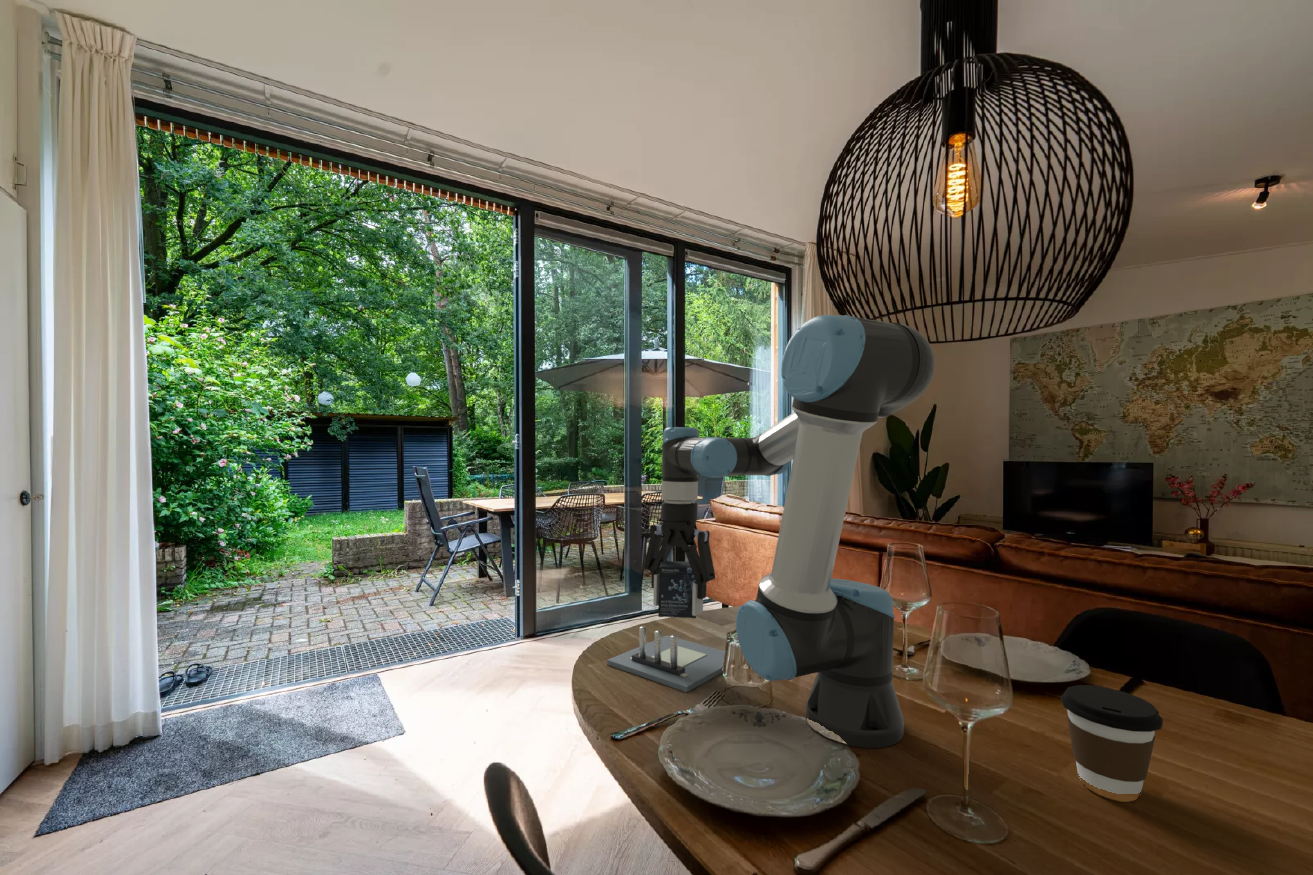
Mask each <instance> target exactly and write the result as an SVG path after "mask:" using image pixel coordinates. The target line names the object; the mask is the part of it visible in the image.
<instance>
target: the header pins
mask: <svg viewBox="0 0 1313 875" xmlns="http://www.w3.org/2000/svg"><path fill="white" fill-rule="evenodd" d="M638 628H639V631H638V633H639V635H638V637H639V640H638V647H639V653H637V654H634V655H632V661H635V662H638V663H641V664H644V665H647V666H650V667H653V668H656V669H659V670H662V671H665V672H668V673H671V674H674V675H677V676H680V675H681V674H683V673H685V668H684V667H681V666H678V665H677V656H678V638H679V635H678V634H671V635H670V636H671V644H670V663H668V662H665V661H662V660H661V646H662V637H663V633H662V630H661V629H657V630H656V629H655V630H654V640H655V644H654V658H653V657H650V656H646V644H647V626H645V625H640V626H639V627H638Z"/></svg>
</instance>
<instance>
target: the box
mask: <svg viewBox="0 0 1313 875" xmlns="http://www.w3.org/2000/svg"><path fill="white" fill-rule="evenodd" d="M694 582H696V579H695V577H694V574H693V571H692V569H691V566H690V564H689V561H682V560H681V561H678V560H676V561H675V560H673V561H672V560H671V561H670V560H666V561H661V562H660V569H659V605H658V606H657V607H658V609H657V610H658V613H657V615H658V618H684V619H685V618H686V619H696V618H697V615H696V616H693V615H692V595H693V583H694Z"/></svg>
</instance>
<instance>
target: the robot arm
mask: <svg viewBox="0 0 1313 875" xmlns="http://www.w3.org/2000/svg"><path fill="white" fill-rule="evenodd" d="M780 366H781V369H780V371H781V378H782V379H784V381H783V383H782V385H783V386H784V389H785V390H786V391H787V394H789V395H790V396H791V397H792V398H793V400H792V403H791V404H792V405H791V409H792V411H793V412H792V413H791V414H789V415H788V416H786V417H785V418H783V419H781V420H780V421H778V422H777V423H775V424H774V425H772V426H771V427H769V428H768V429H766V430H764V431H763V432H761V433H759V434H758V435H756V436H754V437H719V436H704V437H702V436H701V437H700V434H699V433H700V432H699V429H698V428H696V427H689V426H688V427H684V426H683V427H682V426H680V427H679V426H675V427H673V426H668V427H666V428H664V430H663V433H662V443H661V448H662V449H661V450H662V451H661V452H662V453H661V455H662V457H661V476H662V477H661V496H660V497H661V499H662V500H663V501H662V503H661V508H660V510H661V511H660V512H661V514H660V516H661V517H660V518H661V519H662V523H661V524H660V523H656V524H651V525H650V527H649V531H650V532H649V533H650V536H649V541H648V546H647V550H646V555H645V559H644V564H643V569H645V570H648V571H649V572H650V573H651V584H650V585H651V588H652V589H653V606H655V607H659V606H658V605H659V569H660V562H661V561H668V558H669V556H670V554H671V552H672V549H673V548H674V547H675V546H676V547H679V548H681V549H682V551H683V553H685V556H686V558H687V562H689V564H690V566H691V569H692V571H693V574H694V577H695V579H696V582H694V583H693V595H692V615H693V616H696V617H697V616H698V615H702V614H703V612H704V599H706V598H707V583H708V582H711V581H713V580H715V579H716V574H715V567H714V563H713V557H712V553H711V552H712V551H711V546H710V535H711V534H710V531H709V530H700V529H699V528H698V526H697V521H698V511H699V510H698V508H699V506H698V504H697V502H696V501H697V500H698V499H699V498H698V496H699V495H698V494H699V492H698V491H699V476H702V477H705V478H708V479H712V478H715V479H717V478H718V479H719V478H723V477H728V476H729V477H731V476H732V477H733V476H734V477H735V476H736V477H738V476H765V477H766V476H767V477H769V476H774V475H781V474H783V473H785V472H786V471H787V470H788V468H789V466H791V469H790V474H789V479H788V485H787V490H786V494H785V501H784V505H783V511H782V514H781V515H782V516H781V522H780V525H779V526H780V527H779V531H778V536H777V542H776V548H775V554H774V558H773V563H772V569H771V572H769V573H767V574H766V575H764V576H763V577H761V579H760V580H759V583H758V588H757V594H756V598H755V600H747V601H746V602H744V604H742V605H740V607H739V608H738V610H737V612H736V613H737V614H736V618H735V630H736V636H737V641H738V645H739V647H740V650H741V654H742V656H743V657H744V659H745V661H746V662H747V664H748V666H749V667H750V668H751V669H752V670H753V672H755V674H757V676H759V677H760V678H762V679H763V680H766V681H770V682H775V681H783V680H784V681H792V680H794V679H795V678H799V677H803V676H807V675H813V674H816V676H815V679H814V682H813V684H812V688H811V690H810V693H809V696H808V698H807V702H806V705H805V706H806V708H805V710H806V713H805V717H807V718H808V719H809V720H812V721H814V722H817V723H819V724H820V725H821V726H824V727H825V728H826V729H828V730H829V731H833V732H834V733H835V734H837V735H839V736H840V737H841V738H842V739H843V740H844V741H845V742H846V743H847V744H848V745H847V746H850V747H856V748H866V749H867V748H868V749H877V748H878V749H879V748H885V747H891V746H893V745H896V744H897V743H899V742H900V741H901V740H902V739H903V738H904V734H905V731H904V730H905V720H904V719H905V718H904V715H903V712H902V709H901V705H900V703H899V699H898V696H897V693H896V690H895V687H894V683H893V677H894V676H893V668H894V667H893V666H894V637H895V636H894V635H895V634H894V632H895V631H894V630H895V618H896V617H895V614H894V612H895V611H894V600H893V597H892V595H891V593H890V592H889V591H887V590H886V589H884V588H883V587H879V586H875V585H874V584H873V585H872V584H869V583H865V582H860V581H856V580H855V581H854V580H849V579H843V578H842V579H841V578H832V577H833V574H834V572H833V571H834V567H835V564H836V557H837V553H838V549H839V544H840V539H841V534H842V530H843V525H844V521H845V517H846V512H847V506H848V502H849V498H850V494H851V489H852V484H853V480H854V475H855V469H856V465H857V460H858V456H859V451H860V446H861V441H862V438H863V433H864V432H865V431H866V430H868V429H869V428H871V427H873V426H875V425H876V424H877V423H878V418H881V419H882V418H887V417H889V416H890V415H893V414H894V413H897V412H898V411H900V410H902V409H904V408H906V407H907V406H910V404H912V403H914V402H915V401H917V400H918V399H919V398H920V397H921V396H922V395H923V394H925V393H926V391H927V389H928V388H929V387H930V385H931V383H932V381H933V378H934V375H935V371H936V356H935V354H934V349H933V347H932V345H931V344H930V342H929V341H928V339H927V338H926V337H925V336H924V335H923V334H922V333H921V332H919V331H918V330H917V329H915V328H913V327H911V326H910V325H907V324H902V323H897V322H887V321H880V320H874V319H867V318H863V317H862V318H861V317H856V316H851V315H848V314H845V315H838V314H837V315H836V314H822V315H817V316H815V317H811V318H810V319H808V320H807V321H804V323H803V324H802V325H801V327H799V328H796V330H795V332H794V333H793V334H792V335H791V337H790V339H789V341H788V342H787V344H786V347H785V350H784V353H783V356H782V360H781V365H780ZM663 536H664V537H663ZM662 537H663V539H662ZM697 549H698V550H697Z"/></svg>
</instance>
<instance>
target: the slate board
mask: <svg viewBox="0 0 1313 875" xmlns="http://www.w3.org/2000/svg"><path fill="white" fill-rule="evenodd" d="M654 644H655V639H654V640H652V641H650V642H646V656H650V657H653V658H654ZM670 644H671V635H667V634H666V635H665V636H662V646H661V660H662V661H665V662H668V663H670ZM725 652H726V651H725V650H722V649H718V648H714V647H710V646H706V645H703V644H699V643H696V642H694V641H690V640H685V639H682V638H679V637H678V656H677V665H678V666H681V667H684V668H685V673H683V674H681V675H680V676H677V675H674V674H671V673H668V672H665V671H662V670H659V669H656V668H653V667H650V666H647V665H644V664H641V663H638V662H635V661H632V655H634V654H637V653H639V646H637V647H635V648H632V649H630V650H627V651H625V652H623V653H620V654H618V655H616V656H613V657H611V658H608V659H607V662H606V665H607V666H609V667H613V668H616V669H618V670H621V671H624V672H627V673H630V674H633V675H634V676H635V675H636V676H639V677H641V678H645V679H647V680H650V681H654V682H656V683H659V684H662V685H665V686H667V687H671V688H673V689H676V690H679V691H682V692H685V693H688V692H690V691H691V690H693V689H695V688H697V687H699V686H700V685H702V684H704V683H706V682H708V681H710V680H711V679H713V678H715V677H717V676H718V675H721V674H722V673H723V672H722V668H723V662H724V655H725Z"/></svg>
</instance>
